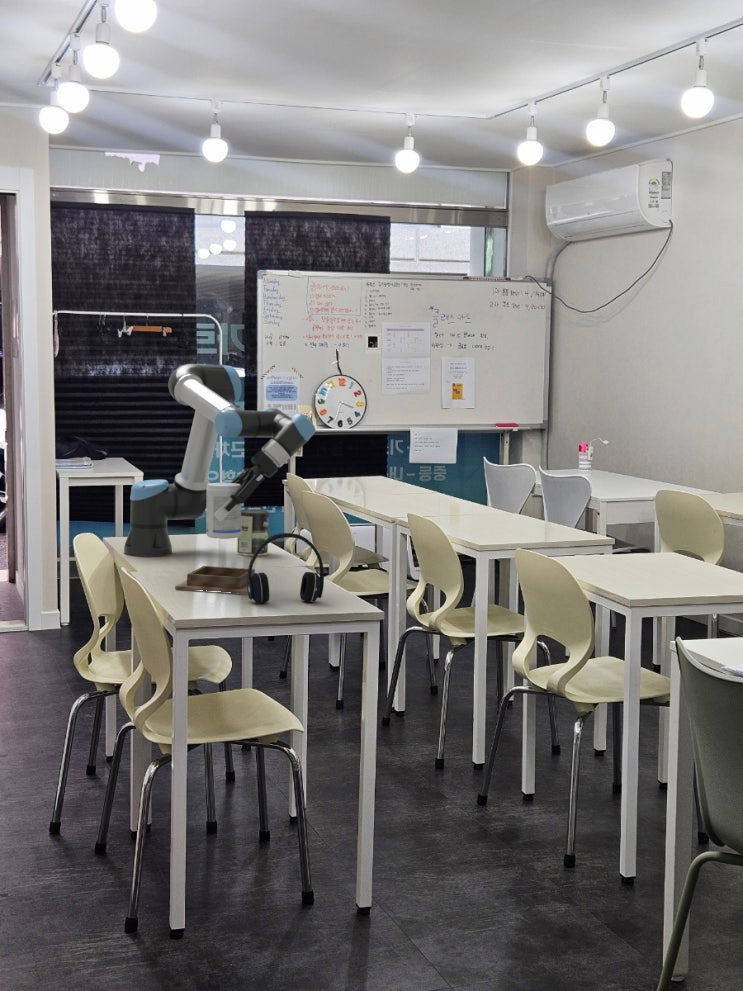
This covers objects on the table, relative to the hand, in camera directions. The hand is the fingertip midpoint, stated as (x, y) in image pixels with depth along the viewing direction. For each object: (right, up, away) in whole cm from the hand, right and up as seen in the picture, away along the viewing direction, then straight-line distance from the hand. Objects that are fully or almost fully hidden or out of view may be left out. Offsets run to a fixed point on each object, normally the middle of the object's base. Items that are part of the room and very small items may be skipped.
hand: (212, 515), depth 325 cm
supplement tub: (+3, -6, +2) cm, 7 cm away
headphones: (+21, -23, -16) cm, 35 cm away
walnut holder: (+2, -20, +3) cm, 20 cm away
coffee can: (+5, -14, +62) cm, 64 cm away
